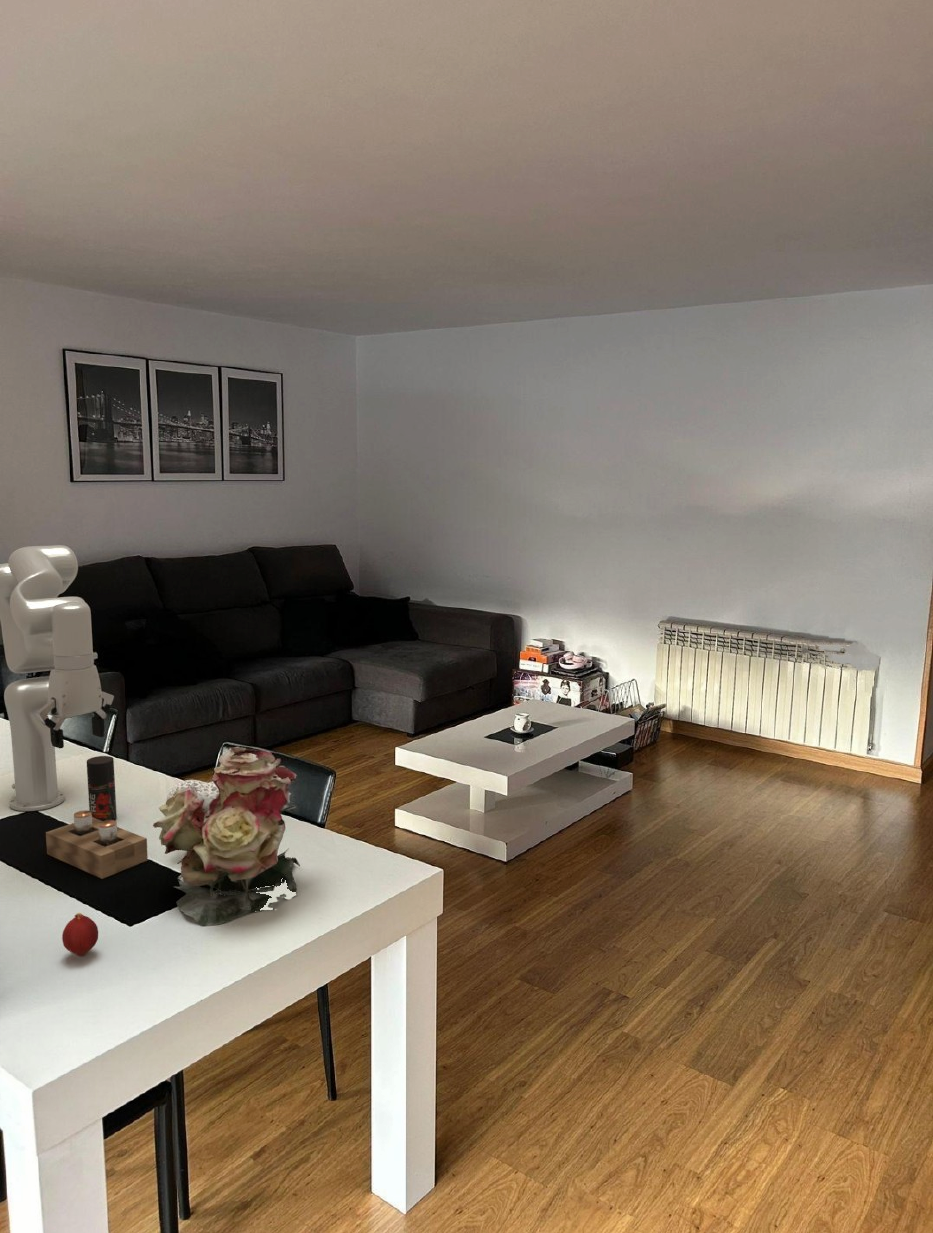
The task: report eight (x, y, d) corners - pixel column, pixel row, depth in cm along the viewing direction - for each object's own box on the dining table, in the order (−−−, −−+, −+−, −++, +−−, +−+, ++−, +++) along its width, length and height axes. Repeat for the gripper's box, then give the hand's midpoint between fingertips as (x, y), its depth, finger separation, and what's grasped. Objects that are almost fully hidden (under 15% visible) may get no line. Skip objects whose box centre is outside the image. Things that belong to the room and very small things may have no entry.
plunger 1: (71, 834, 201) (70, 814, 200) (86, 829, 203) (85, 809, 203) (81, 838, 199) (79, 817, 198) (96, 833, 201) (94, 812, 201)
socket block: (47, 854, 200) (45, 832, 199) (92, 837, 209) (91, 816, 208) (102, 878, 189) (100, 855, 188) (147, 860, 198) (146, 838, 197)
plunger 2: (96, 845, 196) (94, 823, 195) (111, 839, 198) (109, 818, 198) (106, 849, 193) (105, 827, 193) (121, 843, 196) (120, 822, 196)
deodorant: (121, 816, 222) (118, 756, 219) (109, 825, 216) (106, 764, 213) (97, 814, 222) (94, 755, 220) (85, 824, 217) (81, 763, 214)
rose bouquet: (152, 879, 189) (146, 739, 184) (293, 857, 201) (290, 724, 196) (165, 939, 166) (158, 780, 161) (323, 910, 178) (321, 761, 172)
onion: (70, 946, 163) (67, 904, 162) (103, 945, 164) (101, 903, 162) (58, 964, 157) (55, 921, 156) (93, 963, 158) (90, 920, 156)
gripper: (99, 652, 201) (104, 728, 204) (24, 666, 186) (29, 748, 189) (121, 657, 196) (125, 734, 199) (45, 672, 182) (50, 755, 185)
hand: (78, 741), depth 194 cm, fingers open, 9 cm apart
